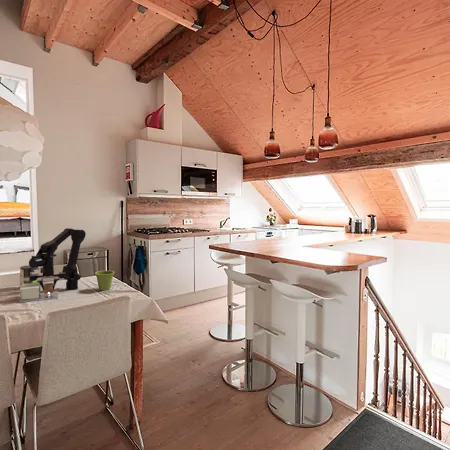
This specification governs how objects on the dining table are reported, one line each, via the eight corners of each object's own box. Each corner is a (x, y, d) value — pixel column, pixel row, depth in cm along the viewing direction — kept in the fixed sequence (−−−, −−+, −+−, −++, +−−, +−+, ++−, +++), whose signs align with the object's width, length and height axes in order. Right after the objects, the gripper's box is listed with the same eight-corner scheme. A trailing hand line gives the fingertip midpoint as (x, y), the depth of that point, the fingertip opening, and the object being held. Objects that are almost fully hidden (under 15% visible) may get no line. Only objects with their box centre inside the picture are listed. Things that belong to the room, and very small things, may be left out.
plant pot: (98, 293, 192) (98, 275, 191) (92, 288, 201) (92, 272, 200) (117, 289, 200) (117, 272, 199) (110, 286, 209) (110, 269, 208)
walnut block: (53, 290, 186) (52, 282, 185) (52, 292, 182) (52, 284, 181) (44, 291, 184) (44, 283, 183) (43, 293, 180) (43, 285, 179)
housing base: (58, 292, 191) (58, 287, 191) (57, 298, 179) (57, 292, 179) (22, 296, 182) (22, 290, 182) (19, 302, 171) (19, 296, 170)
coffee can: (42, 286, 205) (42, 265, 204) (30, 290, 195) (29, 268, 194) (29, 285, 207) (29, 264, 206) (16, 289, 197) (16, 267, 196)
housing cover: (40, 292, 186) (40, 282, 186) (38, 297, 175) (38, 287, 175) (23, 293, 182) (22, 283, 182) (20, 299, 171) (19, 289, 171)
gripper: (65, 261, 193) (66, 285, 194) (31, 263, 185) (31, 288, 186) (65, 264, 183) (66, 290, 184) (28, 267, 175) (29, 293, 176)
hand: (48, 290), depth 183 cm, fingers closed on walnut block, 4 cm apart
